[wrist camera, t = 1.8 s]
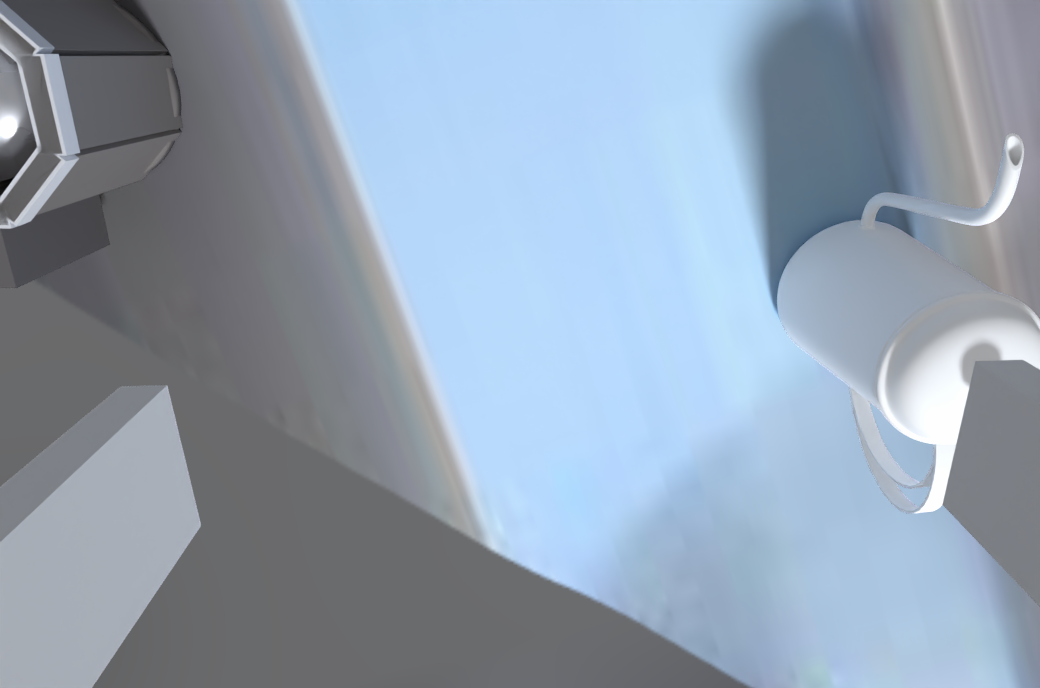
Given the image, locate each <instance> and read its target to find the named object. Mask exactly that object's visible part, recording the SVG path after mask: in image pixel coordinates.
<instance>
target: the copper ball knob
mask: <svg viewBox="0 0 1040 688" xmlns="http://www.w3.org/2000/svg"><path fill="white" fill-rule="evenodd" d="M36 148H37V144H36V140H35V136H34V132H33V127H32V123H31V119H30V115H29V111H28V107H27V102H26V98H25V94H24V90H23V86H22V82H21V77H20V73H19V69H18V65H17V62H15V61H14V60H13V59H12V58H11V57H10V56H8V55H7V54H6V53H5V52H4V51H3V50H1V49H0V181H4V180H8V179H12V178H15V176H16V175H17V174H18V172H19V171H20V170H21V168H22V167H23V166H24V164H25V163H26V162H27V160H28V159H29V158H30V156H31V155H32V153H33V152H34V151H35V149H36Z"/></svg>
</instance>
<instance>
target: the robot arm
mask: <svg viewBox="0 0 1040 688" xmlns="http://www.w3.org/2000/svg"><path fill="white" fill-rule="evenodd" d="M942 505H943V506H944V507H945V508H946V509H947V510H948V511H949V512H950V513H951V514H952V515H953V516H954V517H955V518H956V519H957V520H958V521H959V522H960V524H961V525H962V526H963V527H964V528H965V529H966V530H967V531H968V532H969V533H970V534H971V535H972V536H973V537H974V538H975V539H976V540H977V541H978V542H979V544H980V545H981V546H982V547H983V548H984V549H985V550H986V551H987V552H988V553H989V554H990V555H991V556H992V557H993V558H994V559H995V560H996V561H997V562H998V564H999V565H1000V566H1001V567H1002V568H1003V569H1004V570H1005V571H1006V572H1007V573H1008V574H1009V575H1010V576H1011V577H1012V578H1013V579H1014V580H1015V581H1016V582H1017V584H1018V585H1019V586H1020V587H1021V588H1022V589H1023V590H1024V591H1025V592H1026V593H1027V594H1028V595H1029V596H1030V597H1031V598H1032V599H1033V600H1034V601H1035V602H1036V603H1037V605H1038V606H1039V607H1040V370H1039V369H1038V368H1036V367H1034V366H1033V365H1031V364H1029V363H1028V362H1026V361H1024V360H996V361H975V365H974V369H973V374H972V378H971V382H970V387H969V391H968V395H967V400H966V404H965V408H964V413H963V417H962V421H961V426H960V430H959V434H958V439H957V443H956V447H955V452H954V456H953V460H952V465H951V469H950V473H949V478H948V482H947V486H946V491H945V495H944V499H943V504H942ZM200 526H201V523H200V519H199V515H198V511H197V507H196V502H195V498H194V494H193V490H192V486H191V482H190V478H189V474H188V469H187V465H186V461H185V457H184V453H183V449H182V444H181V441H180V436H179V432H178V428H177V424H176V420H175V415H174V412H173V407H172V403H171V399H170V395H169V390H168V386H167V385H160V386H129V387H128V386H126V387H125V386H124V387H119V388H118V389H117V390H116V391H115V392H113V393H112V394H111V395H110V396H109V397H107V398H106V399H105V400H104V401H103V402H101V403H100V404H99V405H98V406H97V407H95V408H94V409H93V410H92V411H91V412H89V413H88V414H87V415H86V416H85V417H84V418H82V419H81V420H80V421H79V422H78V423H76V424H75V425H74V426H73V427H71V428H70V429H69V430H68V431H67V432H65V433H64V434H63V435H62V436H61V437H59V438H58V439H57V440H56V441H55V442H53V443H52V444H51V445H50V446H49V447H48V448H46V449H45V450H44V451H43V452H41V453H40V454H39V455H38V456H37V457H35V458H34V459H33V460H32V461H31V462H30V463H28V464H27V465H26V466H25V467H24V468H22V469H21V470H20V471H19V472H17V473H16V474H15V475H14V476H13V477H11V478H10V479H9V480H8V481H7V482H6V483H4V484H3V485H2V486H1V487H0V688H92V687H93V685H94V684H95V682H96V681H97V679H98V678H99V676H100V674H101V673H102V672H103V670H104V669H105V667H106V666H107V664H108V663H109V661H110V660H111V658H112V657H113V656H114V654H115V653H116V651H117V650H118V648H119V646H120V645H121V644H122V642H123V641H124V639H125V638H126V636H127V635H128V633H129V632H130V630H131V629H132V627H133V626H134V624H135V623H136V621H137V620H138V618H139V617H140V615H141V614H142V612H143V611H144V609H145V608H146V606H147V605H148V604H149V602H150V601H151V599H152V597H153V596H154V595H155V593H156V592H157V590H158V589H159V587H160V586H161V584H162V583H163V581H164V580H165V578H166V577H167V575H168V574H169V572H170V571H171V569H172V568H173V566H174V565H175V563H176V562H177V560H178V559H179V557H180V556H181V554H182V553H183V551H184V550H185V548H186V547H187V546H188V544H189V542H190V541H191V540H192V538H193V536H194V535H195V534H196V532H197V531H198V529H199V528H200Z"/></svg>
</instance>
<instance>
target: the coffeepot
mask: <svg viewBox="0 0 1040 688" xmlns="http://www.w3.org/2000/svg"><path fill="white" fill-rule="evenodd" d="M1023 157H1024V146H1023V142H1022V140H1021V139H1020V137H1019V136H1018V135H1016V134H1014V133H1010V134H1008V135H1007V137H1006V139H1005V144H1004V150H1003V155H1002V160H1001V164H1000V169H999V173H998V178H997V182H996V185H995V188H994V191H993V194H992V196H991V198H990V199H989V201H988V203H987V204H986V205H985V206H984V207H982V208H980V209H973V208H968V207H962V206H957V205H952V204H947V203H942V202H937V201H933V200H928V199H923V198H918V197H913V196H908V195H903V194H897V193H890V192H883V193H880V194H877V195H875V196H873V197H872V198H871V199H870V200H869V201H868V203H867V204H866V206H865V208H864V211H863V214H862V218H861V220H853V221H847V222H843V223H840V224H836V225H834V226H831V227H829V228H826V229H824V230H822V231H821V232H819V233H817V234H816V235H814V236H813V237H811V238H810V239H809V240H807V241H806V242H805V243H804V244H803V245H802V246H801V247H800V248H799V249H798V250H797V251H796V252H795V254H794V255H793V256H792V258H791V259H790V261H789V262H788V264H787V265H786V267H785V269H784V271H783V274H782V276H781V279H780V282H779V287H778V293H777V309H778V315H779V319H780V322H781V324H782V326H783V328H784V330H785V332H786V333H787V335H788V336H789V338H790V339H791V340H792V341H793V342H794V343H795V344H796V345H797V346H798V347H799V348H800V349H802V350H803V351H804V352H806V353H807V354H808V355H809V356H811V357H812V358H813V359H815V360H816V361H817V362H818V363H820V364H821V365H822V366H824V367H825V368H826V369H827V370H829V371H830V372H831V373H833V374H834V375H835V376H836V377H838V378H839V379H840V380H842V381H843V382H844V383H845V384H847V385H848V386H849V393H850V401H851V407H852V412H853V417H854V422H855V426H856V430H857V434H858V438H859V441H860V445H861V448H862V451H863V454H864V456H865V459H866V462H867V464H868V466H869V469H870V471H871V473H872V475H873V477H874V479H875V481H876V483H877V485H878V486H879V488H880V489H881V491H882V492H883V494H884V495H885V497H886V498H887V499H888V500H889V501H890V503H891V504H892V505H893V506H895V507H896V508H897V509H898V510H900V511H902V512H905V513H922V512H932V511H934V510H937V509H939V508H940V507H941V506H942V504H943V499H944V495H945V491H946V486H947V482H948V478H949V473H950V469H951V465H952V460H953V456H954V452H955V447H956V443H957V439H958V434H959V430H960V426H961V421H962V417H963V413H964V408H965V404H966V400H967V395H968V391H969V387H970V382H971V378H972V374H973V369H974V365H975V361H996V360H1024V361H1026V362H1028V363H1029V364H1031V365H1033V366H1034V367H1036V368H1038V369H1039V370H1040V319H1039V317H1038V316H1037V315H1036V314H1035V313H1034V311H1033V310H1032V309H1031V308H1029V307H1028V306H1027V305H1026V304H1024V303H1023V302H1021V301H1019V300H1018V299H1016V298H1013V297H1011V296H1009V295H1007V294H1004V293H1001V292H997V291H995V290H993V289H991V288H990V287H988V286H987V285H985V284H984V283H982V282H981V281H979V280H978V279H976V278H974V277H973V276H971V275H970V274H968V273H967V272H965V271H964V270H962V269H961V268H959V267H957V266H956V265H954V264H953V263H951V262H950V261H948V260H947V259H945V258H944V257H942V256H941V255H939V254H937V253H936V252H934V251H933V250H931V249H930V248H928V247H927V246H925V245H924V244H922V243H920V242H919V241H917V240H916V239H914V238H913V237H911V236H910V235H908V234H907V233H905V232H903V231H902V230H900V229H898V228H897V227H894V226H892V225H890V224H887V223H883V222H879V221H875V218H876V215H877V212H878V210H879V209H880V207H882V206H890V207H895V208H899V209H903V210H908V211H912V212H916V213H920V214H924V215H928V216H932V217H936V218H941V219H945V220H949V221H953V222H957V223H962V224H967V225H972V226H980V225H985V224H988V223H991V222H993V221H995V220H996V219H997V218H999V217H1000V216H1001V215H1002V214H1003V213H1004V211H1005V210H1006V209H1007V207H1008V206H1009V204H1010V202H1011V200H1012V198H1013V196H1014V193H1015V190H1016V187H1017V183H1018V179H1019V176H1020V171H1021V167H1022V162H1023ZM869 402H870V403H871V404H873V405H874V406H875V407H876V408H878V409H879V410H880V411H881V412H882V414H883V415H884V417H885V418H886V419H887V420H888V421H889V422H890V423H891V424H892V425H893V426H894V427H895V428H896V429H897V430H898V431H900V432H901V433H903V434H904V435H906V436H908V437H910V438H912V439H915V440H918V441H921V442H925V443H930V444H934V446H933V461H932V465H931V468H930V470H929V472H928V473H927V475H926V477H925V478H924V479H923V480H922V481H921V482H918V481H916V480H915V479H913V478H912V477H910V476H909V475H908V474H907V473H906V472H904V471H903V470H902V469H901V467H900V466H899V465H898V464H897V463H896V462H895V460H894V459H893V457H892V456H891V455H890V453H889V451H888V449H887V448H886V446H885V444H884V442H883V440H882V438H881V435H880V433H879V430H878V428H877V425H876V422H875V420H874V417H873V414H872V410H871V407H870V403H869ZM895 482H896V483H897V484H898V485H900V486H902V487H904V488H910V489H911V488H921V487H930V488H929V491H928V494H927V497H926V498H925V500H924V502H923V503H922V505H921V506H920V507H918V506H916V505H915V504H913V503H912V502H911V501H909V500H908V498H907V497H906V496H905V495H904V494H903V493H902V492H901V490H900V489H899V487H898V486H897V484H896V483H895Z"/></svg>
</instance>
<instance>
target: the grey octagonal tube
mask: <svg viewBox="0 0 1040 688" xmlns="http://www.w3.org/2000/svg"><path fill="white" fill-rule="evenodd" d="M0 49H1V50H3V51H4V52H5V53H6V54H7V55H8V56H10V57H11V58H12V59H13V60H14V61H15V62H17V65H18V69H19V73H20V77H21V82H22V86H23V90H24V94H25V98H26V102H27V107H28V111H29V115H30V119H31V123H32V127H33V132H34V136H35V140H36V144H37V148H36V149H35V151H34V152H33V153H32V155H31V156H30V158H29V159H28V160H27V162H26V163H25V164H24V166H23V167H22V168H21V170H20V171H19V172H18V174H17V175H16V176H15V178H12V179H8V180H4V181H0V288H18V287H20V286H22V285H24V284H26V283H28V282H31V281H33V280H35V279H37V278H39V277H41V276H43V275H46V274H48V273H50V272H52V271H54V270H56V269H59V268H61V267H63V266H65V265H67V264H69V263H71V262H74V261H76V260H78V259H80V258H82V257H84V256H86V255H89V254H91V253H93V252H95V251H97V250H99V249H101V248H104V247H106V246H108V245H110V243H109V238H108V233H107V228H106V224H105V219H104V214H103V210H102V205H101V200H100V196H99V194H102V193H105V192H108V191H111V190H114V189H117V188H120V187H123V186H126V185H129V184H132V183H135V182H138V181H140V180H143V179H144V178H145V177H146V176H147V174H148V173H149V172H150V171H151V170H153V169H154V168H155V167H156V166H158V165H159V164H160V163H161V162H162V160H163V159H164V158H165V157H166V156H167V154H168V153H169V151H170V150H171V148H172V146H173V144H174V142H175V140H176V139H177V137H178V136H179V135H180V134H181V131H180V130H179V128H183V126H182V120H181V97H180V90H179V86H178V81H177V78H176V75H175V72H174V69H173V64H172V58H171V56H167V54H166V53H167V52H168V50H167V49H166V48H165V47H164V46H163V45H162V44H161V43H160V42H159V41H158V40H157V39H156V38H155V36H154V35H153V34H152V32H151V31H150V30H149V29H148V28H147V27H146V26H145V25H144V24H143V23H142V22H141V21H140V20H139V19H138V18H136V17H135V16H134V15H133V14H132V13H130V12H129V11H127V10H126V9H124V8H123V7H121V6H120V5H119V4H117V3H116V2H115V1H114V0H0Z"/></svg>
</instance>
